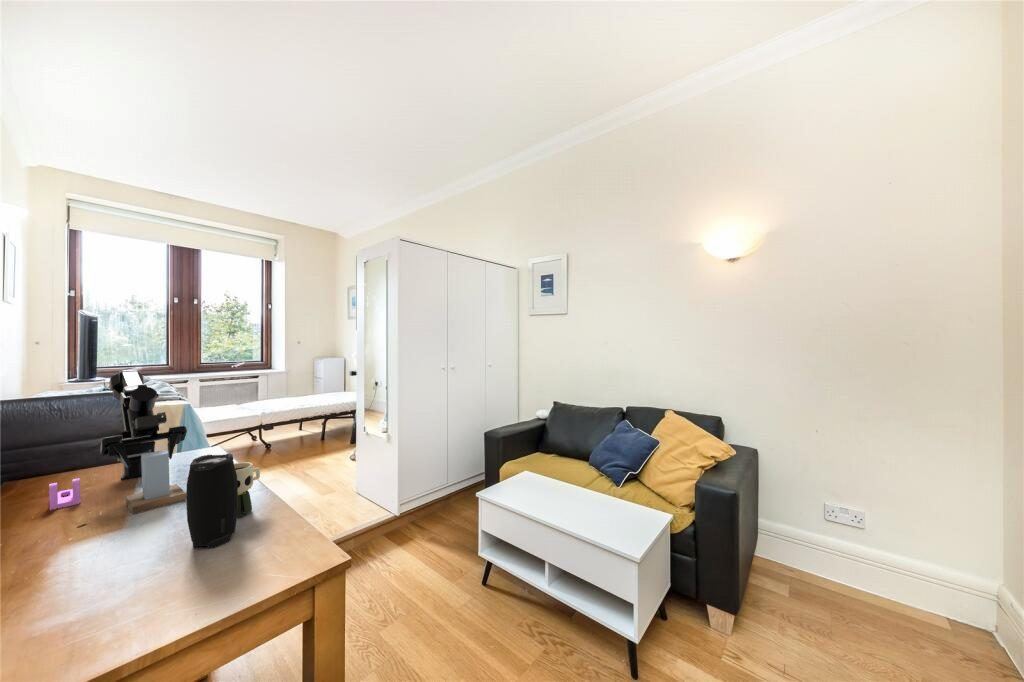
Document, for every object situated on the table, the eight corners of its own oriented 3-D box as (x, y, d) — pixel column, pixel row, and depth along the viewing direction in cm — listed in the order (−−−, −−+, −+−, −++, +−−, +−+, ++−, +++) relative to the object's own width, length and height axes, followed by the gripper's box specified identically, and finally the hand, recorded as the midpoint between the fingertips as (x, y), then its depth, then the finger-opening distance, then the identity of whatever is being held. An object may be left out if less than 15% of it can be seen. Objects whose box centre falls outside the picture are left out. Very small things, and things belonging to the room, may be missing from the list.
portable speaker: (188, 540, 88) (186, 457, 87) (237, 526, 94) (236, 449, 93) (186, 556, 81) (184, 467, 81) (240, 541, 87) (238, 458, 87)
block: (142, 495, 107) (141, 454, 107) (165, 489, 111) (164, 449, 111) (146, 500, 104) (144, 457, 104) (169, 493, 108) (168, 453, 108)
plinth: (126, 503, 107) (125, 496, 107) (176, 490, 116) (176, 483, 116) (133, 514, 100) (132, 507, 100) (186, 499, 109) (186, 492, 109)
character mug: (218, 527, 93) (217, 475, 93) (207, 519, 97) (206, 470, 97) (266, 509, 102) (265, 463, 102) (254, 503, 106) (253, 458, 106)
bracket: (80, 503, 107) (79, 479, 107) (49, 510, 103) (49, 486, 103) (79, 491, 116) (79, 469, 116) (51, 497, 111) (50, 474, 111)
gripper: (100, 410, 107) (106, 456, 101) (184, 400, 122) (195, 440, 116) (97, 432, 112) (103, 477, 106) (179, 420, 127) (188, 459, 121)
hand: (150, 462), depth 112 cm, fingers open, 9 cm apart
